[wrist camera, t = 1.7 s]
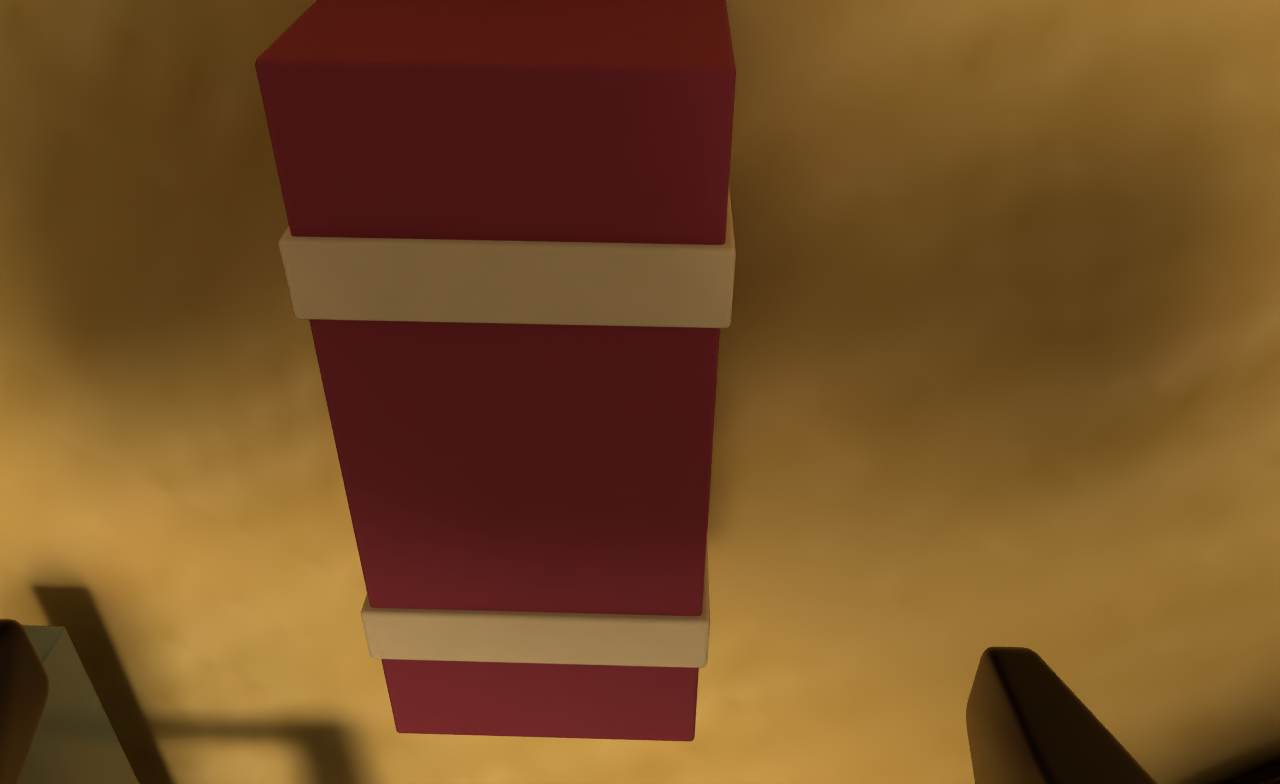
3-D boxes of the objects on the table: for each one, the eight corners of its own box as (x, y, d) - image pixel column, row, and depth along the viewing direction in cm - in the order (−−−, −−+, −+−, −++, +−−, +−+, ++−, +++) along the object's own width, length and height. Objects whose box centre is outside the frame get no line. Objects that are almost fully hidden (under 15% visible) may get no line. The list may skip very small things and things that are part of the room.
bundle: (697, 550, 17) (701, 749, 14) (439, 544, 18) (387, 740, 14) (728, -40, 12) (749, 72, 9) (351, -46, 12) (234, 63, 9)
